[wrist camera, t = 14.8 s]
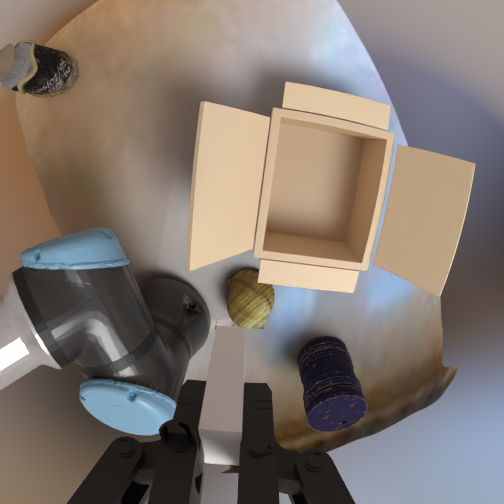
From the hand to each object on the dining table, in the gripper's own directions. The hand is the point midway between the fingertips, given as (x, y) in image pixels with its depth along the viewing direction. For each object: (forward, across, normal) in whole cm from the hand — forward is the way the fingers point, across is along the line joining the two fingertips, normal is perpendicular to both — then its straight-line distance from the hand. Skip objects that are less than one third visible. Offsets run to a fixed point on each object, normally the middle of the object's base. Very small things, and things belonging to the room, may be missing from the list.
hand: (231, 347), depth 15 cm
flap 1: (+21, +2, +6) cm, 22 cm away
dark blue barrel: (+30, +15, -26) cm, 43 cm away
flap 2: (+21, +17, +4) cm, 27 cm away
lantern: (+31, -32, +25) cm, 51 cm away
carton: (+30, +10, +5) cm, 32 cm away
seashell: (+30, +4, -11) cm, 33 cm away
